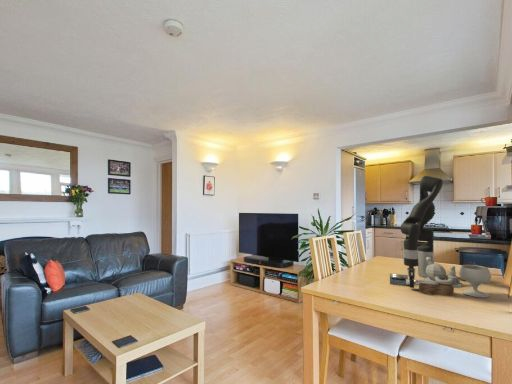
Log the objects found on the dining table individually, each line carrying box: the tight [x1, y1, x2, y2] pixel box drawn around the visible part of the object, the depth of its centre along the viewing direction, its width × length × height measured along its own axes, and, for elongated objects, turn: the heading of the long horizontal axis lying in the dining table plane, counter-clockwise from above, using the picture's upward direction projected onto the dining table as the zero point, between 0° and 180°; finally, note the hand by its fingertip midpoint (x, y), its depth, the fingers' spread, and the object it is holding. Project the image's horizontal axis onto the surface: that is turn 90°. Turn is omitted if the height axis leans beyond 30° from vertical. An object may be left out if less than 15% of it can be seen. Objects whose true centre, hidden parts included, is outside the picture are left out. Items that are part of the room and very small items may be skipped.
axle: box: [406, 278, 438, 286], centre depth 159 cm, size 16×3×3 cm, turn 63°
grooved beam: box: [418, 283, 455, 297], centre depth 156 cm, size 16×7×5 cm, turn 62°
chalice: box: [458, 264, 492, 298], centre depth 152 cm, size 14×14×15 cm
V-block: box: [389, 273, 409, 287], centre depth 174 cm, size 10×10×5 cm
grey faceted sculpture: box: [423, 257, 464, 289], centre depth 173 cm, size 20×15×15 cm
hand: (411, 286), depth 161 cm, fingers closed on axle, 2 cm apart
